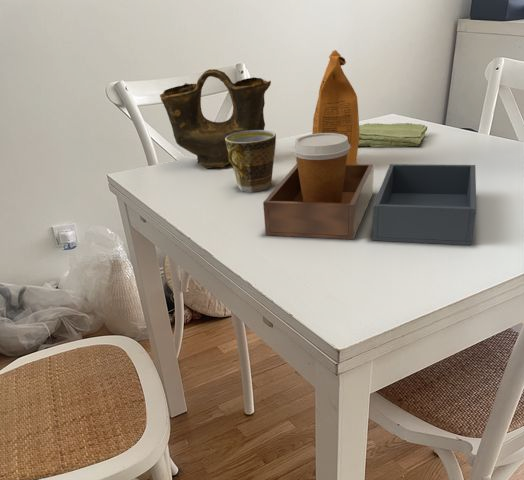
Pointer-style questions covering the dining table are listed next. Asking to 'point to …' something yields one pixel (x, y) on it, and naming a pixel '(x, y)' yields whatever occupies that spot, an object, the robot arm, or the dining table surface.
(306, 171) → the disposable coffee cup
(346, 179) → the wood bin
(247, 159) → the ceramic cup
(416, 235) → the grey bin
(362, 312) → the dining table surface
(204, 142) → the pottery vessel
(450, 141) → the dining table surface
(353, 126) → the coffee package
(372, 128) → the washcloth
